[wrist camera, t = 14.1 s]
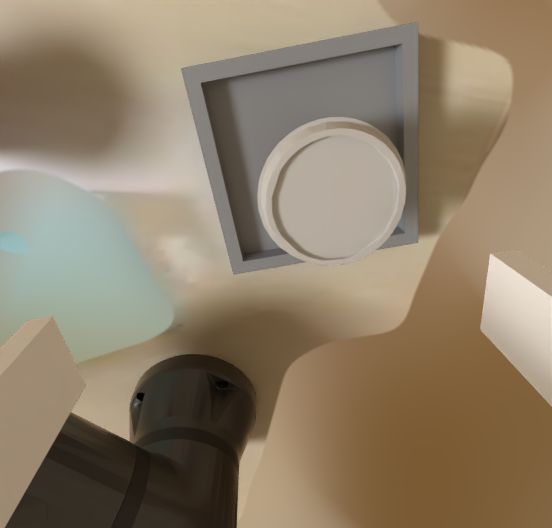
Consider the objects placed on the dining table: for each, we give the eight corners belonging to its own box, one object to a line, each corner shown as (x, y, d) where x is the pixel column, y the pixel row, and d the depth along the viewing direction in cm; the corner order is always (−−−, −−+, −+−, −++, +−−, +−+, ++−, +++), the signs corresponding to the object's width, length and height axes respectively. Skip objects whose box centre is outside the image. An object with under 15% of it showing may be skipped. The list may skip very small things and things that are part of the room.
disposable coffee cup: (262, 218, 35) (264, 278, 24) (252, 111, 31) (250, 125, 20) (361, 210, 35) (406, 266, 24) (365, 102, 31) (422, 112, 20)
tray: (408, 233, 37) (418, 242, 35) (235, 263, 38) (233, 274, 36) (406, 26, 29) (418, 21, 27) (186, 69, 30) (180, 68, 28)
